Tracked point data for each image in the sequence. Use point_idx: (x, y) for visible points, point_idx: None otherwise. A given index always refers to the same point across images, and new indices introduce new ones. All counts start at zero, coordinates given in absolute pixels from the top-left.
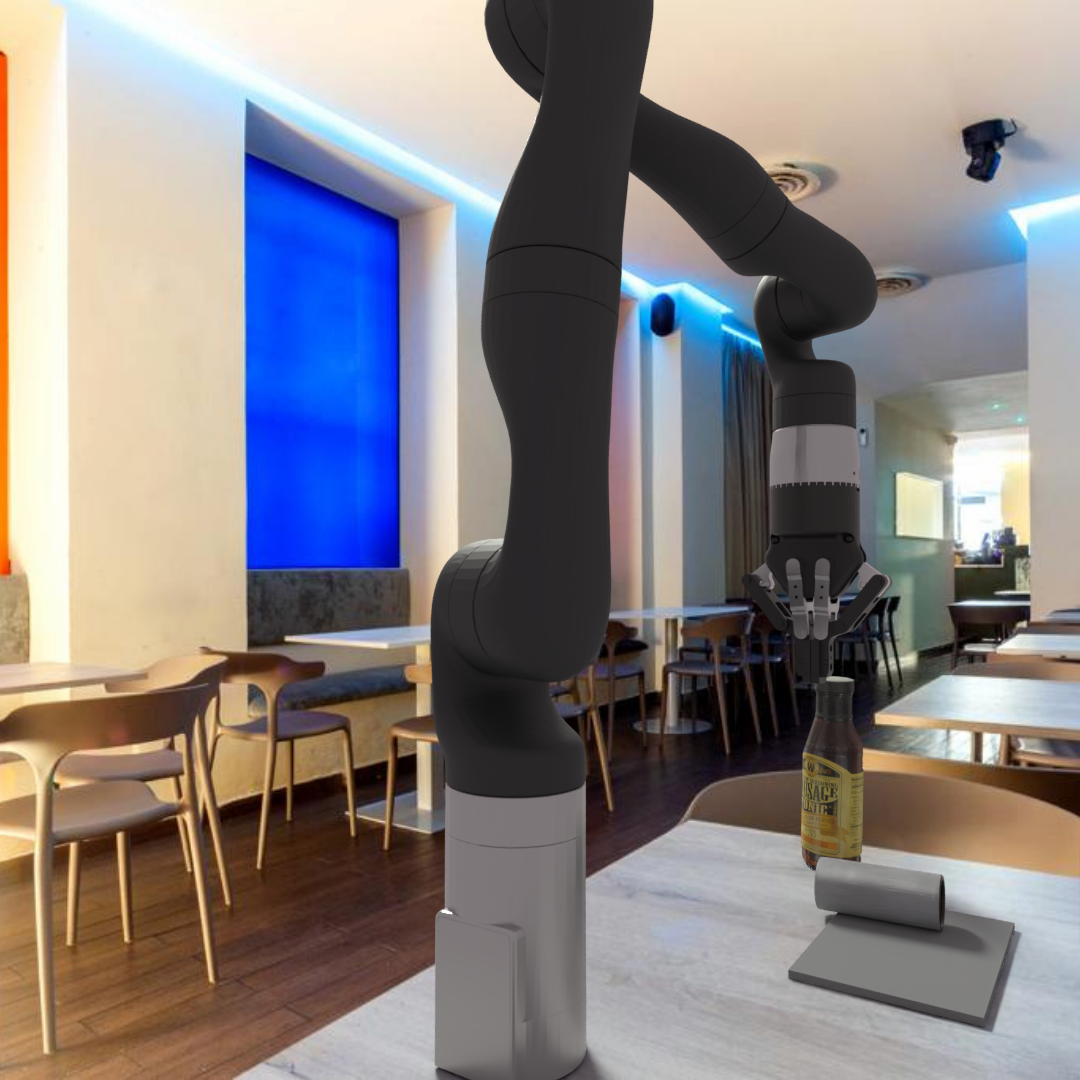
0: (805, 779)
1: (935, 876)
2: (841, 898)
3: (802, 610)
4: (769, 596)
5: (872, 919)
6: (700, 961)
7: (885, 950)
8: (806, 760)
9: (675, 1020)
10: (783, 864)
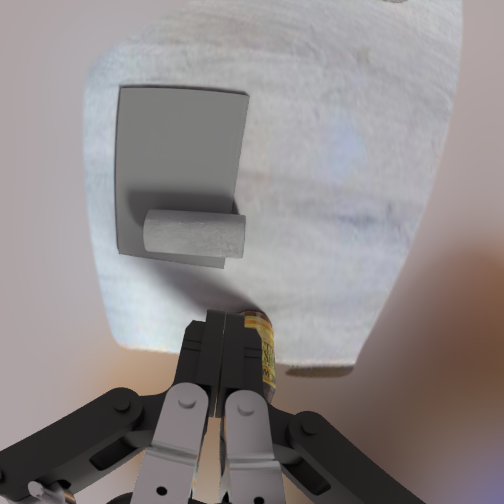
0: (271, 366)
1: (146, 236)
2: (222, 214)
3: (237, 461)
4: (350, 498)
5: None
6: (317, 100)
7: (186, 163)
8: (270, 379)
9: (310, 12)
10: (284, 312)
